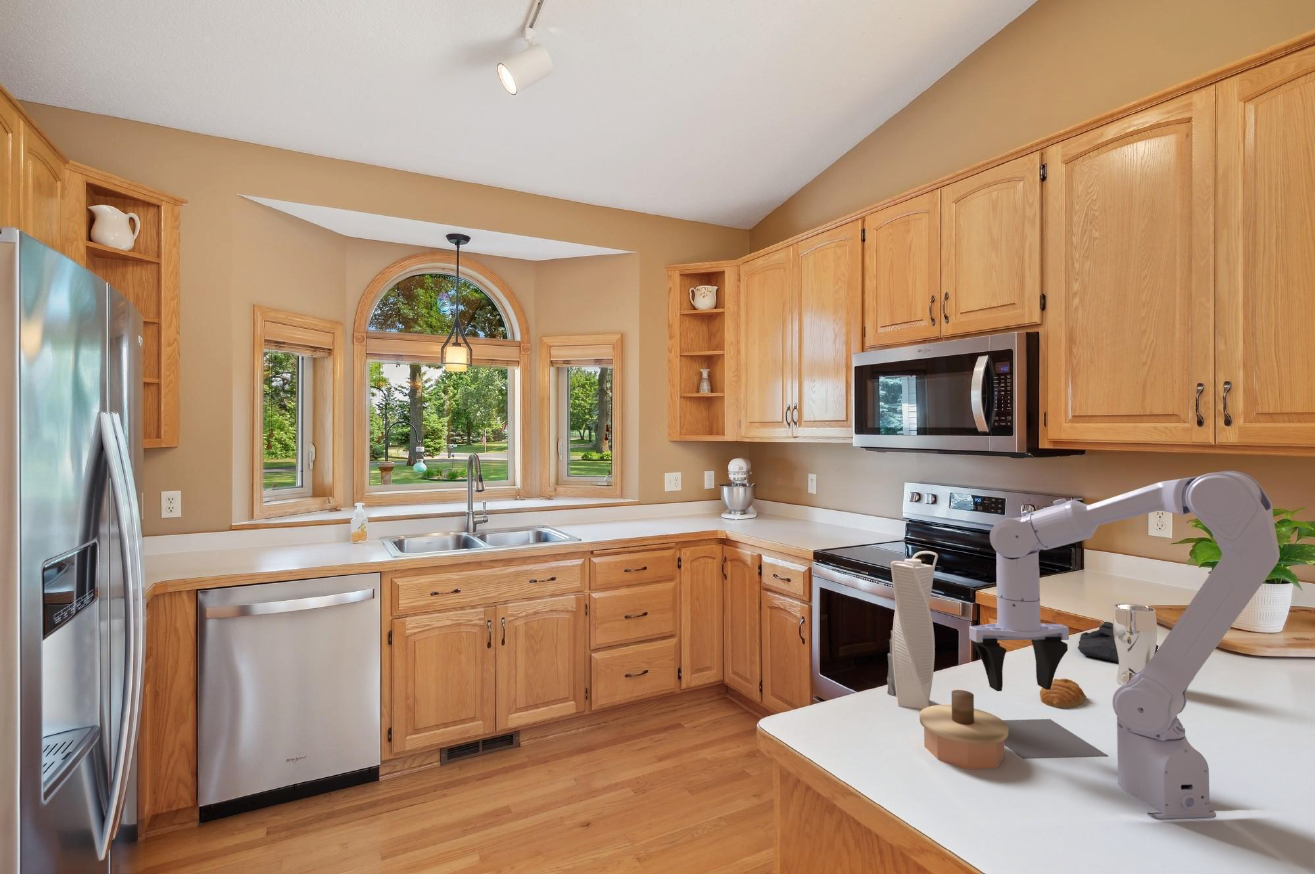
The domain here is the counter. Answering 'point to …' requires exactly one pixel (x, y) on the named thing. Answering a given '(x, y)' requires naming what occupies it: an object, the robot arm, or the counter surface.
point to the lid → (963, 721)
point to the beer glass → (1133, 638)
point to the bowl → (964, 752)
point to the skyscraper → (912, 633)
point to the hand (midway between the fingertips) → (1019, 687)
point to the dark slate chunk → (1100, 643)
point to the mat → (1046, 740)
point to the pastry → (1063, 694)
